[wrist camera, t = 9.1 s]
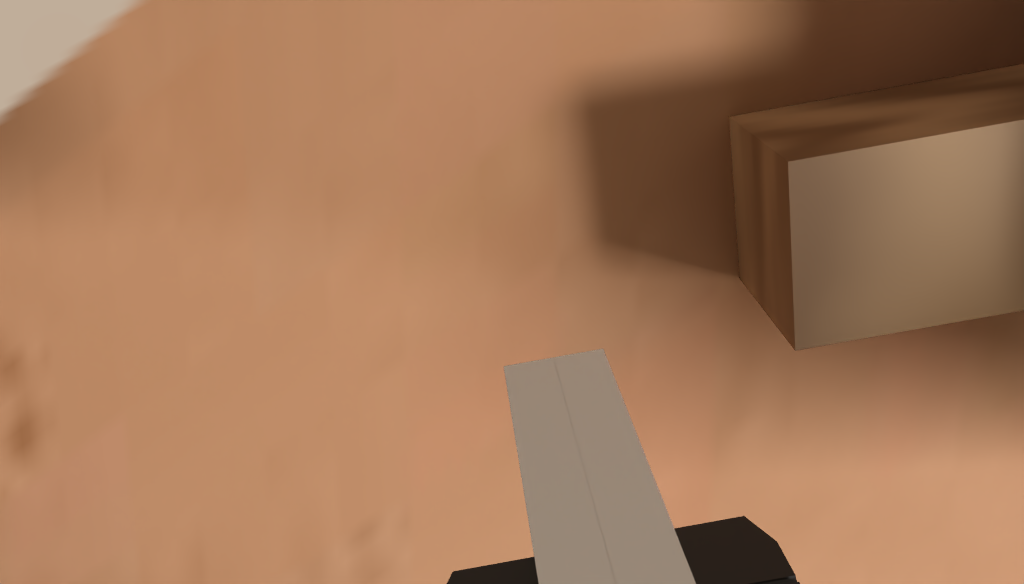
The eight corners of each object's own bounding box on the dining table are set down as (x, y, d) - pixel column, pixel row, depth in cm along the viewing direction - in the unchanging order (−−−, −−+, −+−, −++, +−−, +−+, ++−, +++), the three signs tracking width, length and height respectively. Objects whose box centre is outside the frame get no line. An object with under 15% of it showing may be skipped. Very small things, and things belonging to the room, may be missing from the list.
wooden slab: (737, 275, 27) (795, 350, 22) (726, 114, 25) (788, 161, 20) (1192, 194, 27) (1345, 253, 22) (1218, 26, 25) (1393, 53, 20)
